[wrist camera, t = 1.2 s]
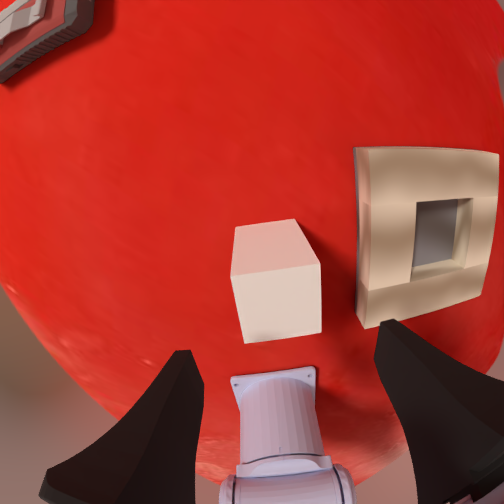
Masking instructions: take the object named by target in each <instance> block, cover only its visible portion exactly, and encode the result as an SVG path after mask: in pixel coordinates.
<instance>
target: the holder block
mask: <svg viewBox="0 0 504 504" xmlns="http://www.w3.org/2000/svg"><path fill="white" fill-rule="evenodd" d="M353 153H354V166H355V181H356V203H357V273H356V295H355V310H354V311H355V313H356V315H357V316H358V318H359V320H360V322H361V324H362V326H363V327H364V329H368V328H372V327H376V326H380V322H381V321H385V320H389V319H393V318H394V319H395V320H397V321H400V320H404V319H408V318H411V317H415V316H418V315H422V314H425V313H429V312H432V311H435V310H439V309H442V308H445V307H448V306H451V305H454V304H457V303H460V302H463V301H466V300H469V299H472V298H474V297H477V296H480V294H481V290H482V287H483V283H484V279H485V275H486V270H487V266H488V261H489V256H490V251H491V246H492V240H493V234H494V227H495V219H496V210H497V199H498V183H499V154H495V153H490V152H485V151H480V150H471V149H458V148H442V147H414V146H378V147H353Z"/></svg>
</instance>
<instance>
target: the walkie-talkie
mask: <svg viewBox="0 0 504 504" xmlns="http://www.w3.org/2000/svg"><path fill="white" fill-rule="evenodd" d="M94 2H95V0H16V1H15V2H14V3H13V4H11V5H10V6H9V7H8V8H5V9H4V10H3V11H2V12H1V13H0V83H3V82H4V81H6V80H7V79H9V78H10V77H11V76H13V75H14V74H15V73H17V72H18V71H20V70H21V69H23V68H24V67H26V66H27V65H29V64H30V63H32V61H35V60H36V59H37V58H40V56H42V55H45V53H48V52H49V51H50V50H53V49H54V48H55V47H59V45H61V44H64V43H65V42H68V41H70V39H74V38H75V37H76V36H80V35H81V34H83V33H84V34H85V33H86V32H87V30H88V29H89V28H90V27H91V25H92V24H93V13H94Z"/></svg>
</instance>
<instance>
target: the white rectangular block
mask: <svg viewBox="0 0 504 504" xmlns="http://www.w3.org/2000/svg"><path fill="white" fill-rule="evenodd" d="M231 281H232V286H233V291H234V296H235V301H236V306H237V310H238V315H239V320H240V324H241V329H242V334H243V338H244V343H253V342H262V341H269V340H277V339H284V338H290V337H297V336H303V335H309V334H315V333H321V269H320V262H319V260H318V258H317V257H316V255H315V253H314V251H313V250H312V248H311V246H310V244H309V243H308V241H307V239H306V237H305V236H304V234H303V232H302V231H301V229H300V227H299V225H298V224H297V222H296V220H295V219H289V220H282V221H275V222H267V223H260V224H253V225H246V226H239V227H236V228H235V237H234V247H233V256H232V266H231Z"/></svg>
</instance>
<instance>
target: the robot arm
mask: <svg viewBox="0 0 504 504" xmlns="http://www.w3.org/2000/svg"><path fill="white" fill-rule="evenodd" d="M374 361H375V365H376V368H377V371H378V374H379V377H380V379H381V382H382V384H383V386H384V388H385V390H386V392H387V394H388V396H389V399H390V401H391V403H392V405H393V407H394V409H395V411H396V413H397V415H398V418H399V420H400V422H401V425H402V427H403V430H404V433H405V436H406V440H407V443H408V447H409V450H410V455H411V459H412V463H413V468H414V474H415V479H416V486H417V496H418V504H446V503H448V502H450V504H504V381H501V380H498V379H495V378H492V377H490V376H487V375H485V374H483V373H480V372H478V371H476V370H474V369H472V368H470V367H468V366H466V365H464V364H462V363H460V362H458V361H456V360H455V359H453V358H451V357H450V356H448V355H446V354H445V353H443V352H442V351H440V350H439V349H437V348H436V347H434V346H433V345H431V344H430V343H428V342H427V341H425V340H424V339H422V338H421V337H420V336H418V335H417V334H415V333H414V332H413V331H411V330H410V329H408V328H407V327H406V326H404V325H403V324H401V323H400V322H399V321H397V320H395V319H394V318H393V319H389V320H385V321H381V322H380V326H379V332H378V338H377V344H376V349H375V354H374ZM309 374H310V375H309ZM315 381H316V370H315V368H314V367H313V366H309V367H303V368H297V369H290V370H284V371H276V372H269V373H260V374H251V375H241V376H233V377H231V385H232V388H233V391H234V394H235V397H236V401H237V404H238V407H239V409H240V465H237V467H236V475H228V477H227V478H226V479H225V480H224V481H223V482H222V484H221V487H220V494H219V504H357V500H356V491H355V486H354V482H353V479H352V477H351V474H350V473H349V471H348V470H347V469H346V468H344V467H343V466H342V465H340V464H333V465H332V460H331V456H330V455H328V456H325V453H324V448H323V444H322V439H321V434H320V429H319V425H318V420H317V416H316V411H315ZM203 407H204V382H203V380H202V378H201V375H200V373H199V370H198V368H197V365H196V363H195V360H194V358H193V355H192V352H191V350H179V351H175V352H174V353H173V355H172V356H171V357H170V359H169V360H168V361H167V363H166V364H165V366H164V367H163V368H162V370H161V371H160V373H159V374H158V375H157V377H156V378H155V379H154V381H153V382H152V383H151V385H150V386H149V387H148V389H147V390H146V391H145V393H144V394H143V395H142V396H141V397H140V399H139V400H138V401H137V402H136V403H135V404H134V406H133V407H132V408H131V409H130V410H129V411H128V412H127V414H126V415H125V416H124V417H123V418H122V419H121V420H120V421H119V422H118V423H117V424H116V425H115V426H114V427H112V428H111V429H110V430H109V431H108V432H107V433H105V434H104V435H103V436H102V437H100V438H99V439H98V440H97V441H95V442H94V443H93V444H91V445H90V446H89V447H87V448H86V449H84V450H83V451H81V452H80V453H78V454H76V455H75V456H73V457H71V458H70V459H68V460H66V461H64V462H62V463H60V464H58V465H56V466H54V467H52V468H49V469H47V472H46V475H45V477H44V480H43V483H42V486H41V489H40V492H39V497H40V498H41V499H43V500H44V501H46V502H48V503H49V504H195V460H196V451H197V445H198V439H199V432H200V426H201V420H202V414H203Z"/></svg>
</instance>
